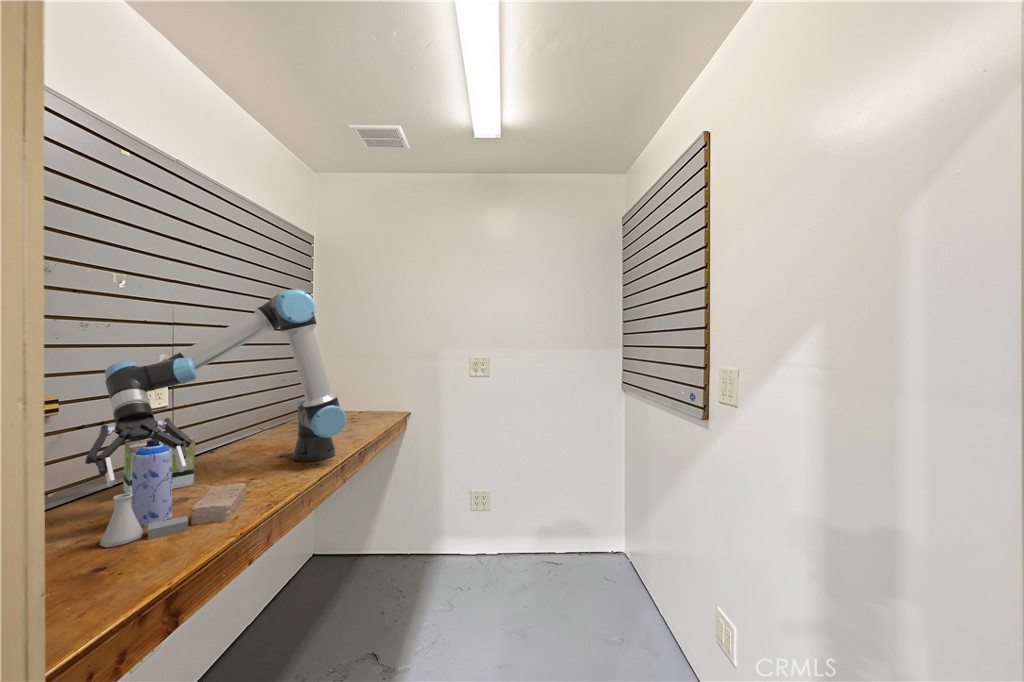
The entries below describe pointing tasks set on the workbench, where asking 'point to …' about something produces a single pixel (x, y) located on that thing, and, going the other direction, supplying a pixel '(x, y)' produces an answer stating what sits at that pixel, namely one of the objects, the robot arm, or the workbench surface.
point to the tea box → (177, 477)
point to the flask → (122, 523)
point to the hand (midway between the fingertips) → (149, 475)
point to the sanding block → (167, 527)
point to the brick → (218, 504)
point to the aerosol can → (152, 483)
